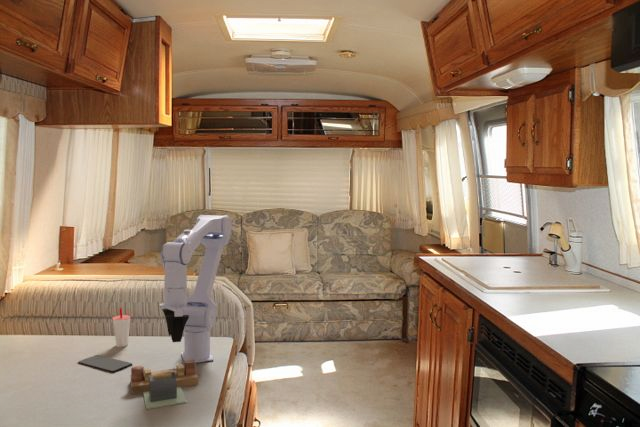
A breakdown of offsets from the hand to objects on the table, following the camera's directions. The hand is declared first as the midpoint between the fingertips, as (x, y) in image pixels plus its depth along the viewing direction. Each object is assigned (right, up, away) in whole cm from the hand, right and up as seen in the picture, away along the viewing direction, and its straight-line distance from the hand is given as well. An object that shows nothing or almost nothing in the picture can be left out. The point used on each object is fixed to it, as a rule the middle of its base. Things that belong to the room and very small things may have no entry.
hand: (174, 338), depth 136 cm
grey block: (+1, -11, -13) cm, 17 cm away
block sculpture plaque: (-2, -11, -4) cm, 12 cm away
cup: (-24, -8, +25) cm, 35 cm away
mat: (+1, -12, -13) cm, 17 cm away
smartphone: (-22, -10, +9) cm, 26 cm away
